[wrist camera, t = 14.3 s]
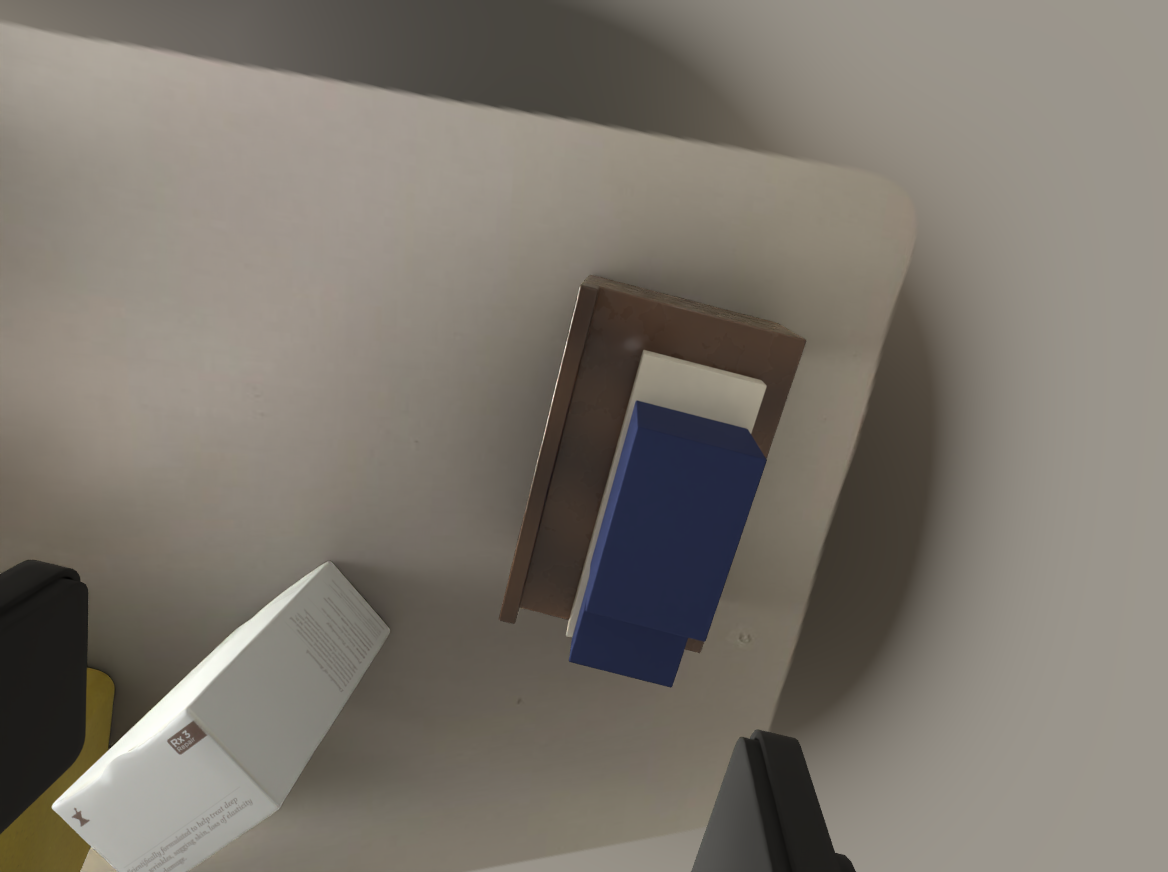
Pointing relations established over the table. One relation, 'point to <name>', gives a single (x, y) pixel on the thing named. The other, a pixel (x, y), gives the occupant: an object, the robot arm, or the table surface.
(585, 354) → the shelf
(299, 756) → the cosmetic box
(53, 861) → the flower pot
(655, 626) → the navy stepped block
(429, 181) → the table surface
